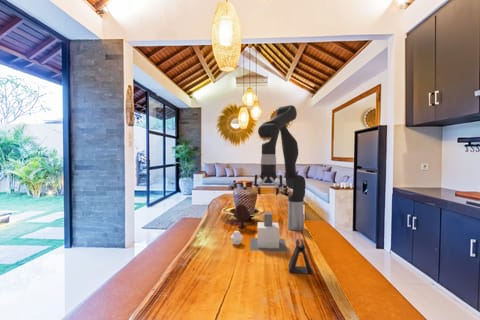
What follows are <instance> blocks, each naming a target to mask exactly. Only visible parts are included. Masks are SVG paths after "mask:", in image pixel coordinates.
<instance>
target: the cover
mask: <svg viewBox="0 0 480 320" xmlns="http://www.w3.org/2000/svg"><path fill="white" fill-rule="evenodd" d="M257 238H258V246H257V248H279V239H280V225H279V222H273V213H272V212H263V222H262V221H257Z"/></svg>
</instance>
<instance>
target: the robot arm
mask: <svg viewBox="0 0 480 320" xmlns="http://www.w3.org/2000/svg"><path fill="white" fill-rule="evenodd" d="M297 115H298V112H297V109H296V106H294V105H293V104H292V105H285V106H284V105H283V106H279V107H277V108H276V116H273V118H271V119H270V120H268V121H266V122H263V123H261V124H260V125H259V126H258V129H257V133H258V135H259V137H261V138H263V139H268V138H269V141H265V142H263V143H262V144H261V158H260V174H255V175H254V181H253V182H254V183H253V186H254V187H256V188H257V195H259V196H261V187H262V185H264V184H273V185H274V186H275V196H278V195H280V188H283V187H284V185H283V175H282V174H278V175H277V156H276V155H277V154H276V152H277V151H276V150H277V149H276V148H277V142H278V137H279V135H280V139H281V147H282V152H283V153H282V154H283V159H284V162H283V163H284V169H285V170H284V172H285V173H284V174H285V183H286V186H287V188H288V189H290V190H292V193H291V194H290V195H288V197H287V204H288V205H287V229H289V230H290V231H303V230H305V214H304V199H305V196H306V187H307V186H306V185H307V184H306V179H305V177H304V176H303V175H301V174H300V175H299V174H297V171H296V170H297V169H296V165H297V160H298V157H299V146H298V141H297V140H296V138H295V137H294V136H293V135H292V133H290V131H289V130H288V127H287V124H288V123H290V122H293V121H295V120H296V118H297ZM259 179H260V180H261V181H260V182H259V183H258V180H259ZM276 179H278V180H279V184H278V183H277V182H276Z"/></svg>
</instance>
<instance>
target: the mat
mask: <svg viewBox="0 0 480 320" xmlns="http://www.w3.org/2000/svg"><path fill="white" fill-rule="evenodd" d="M249 242H250V244H249V251H254V252H255V251H257V252H258V251H259V252H260V251H261V252H262V251H263V252H264V251H265V252H288V248H287V245H286V242H285V238H279V248H257V246H258V237H250V241H249Z"/></svg>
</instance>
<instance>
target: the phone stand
mask: <svg viewBox="0 0 480 320" xmlns="http://www.w3.org/2000/svg"><path fill="white" fill-rule="evenodd" d="M305 249H306V246H305V244H304V240H303V239H302V238H300V239H299V238H297V239H296V241H295V248H294V250H293V253H292V256H291V258H290V261H289V263H288V272H289V274H297V273H300V274H301V273H305V274H304V275H313V272H312V268H311V264H310V262H309V259H308V256H307V254H306V250H305ZM300 253H302V256H303V260H304V264H305V266H302V265H297V261H298V259H299V254H300ZM296 265H297V266H296Z"/></svg>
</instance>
